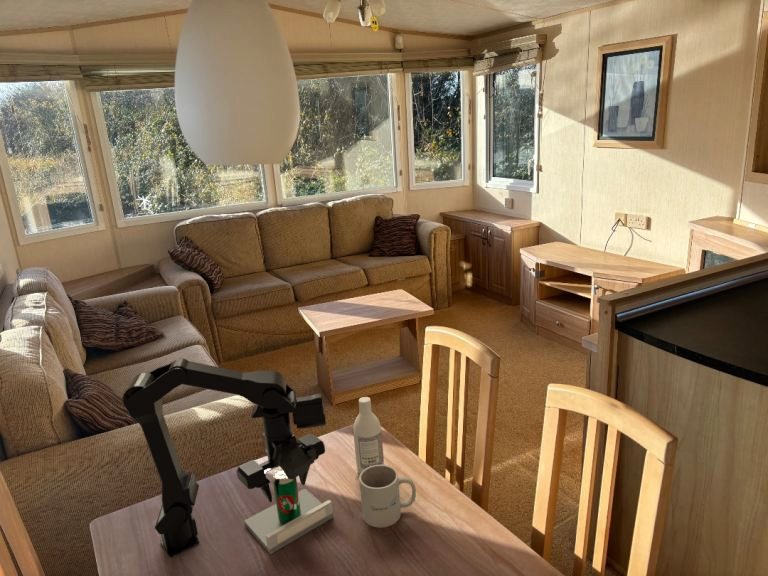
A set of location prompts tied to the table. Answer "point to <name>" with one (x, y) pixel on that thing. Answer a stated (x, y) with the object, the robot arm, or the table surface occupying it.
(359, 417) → the bath foam
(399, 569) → the table surface
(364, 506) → the mug
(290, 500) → the soda can
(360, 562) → the table surface
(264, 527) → the shelf
